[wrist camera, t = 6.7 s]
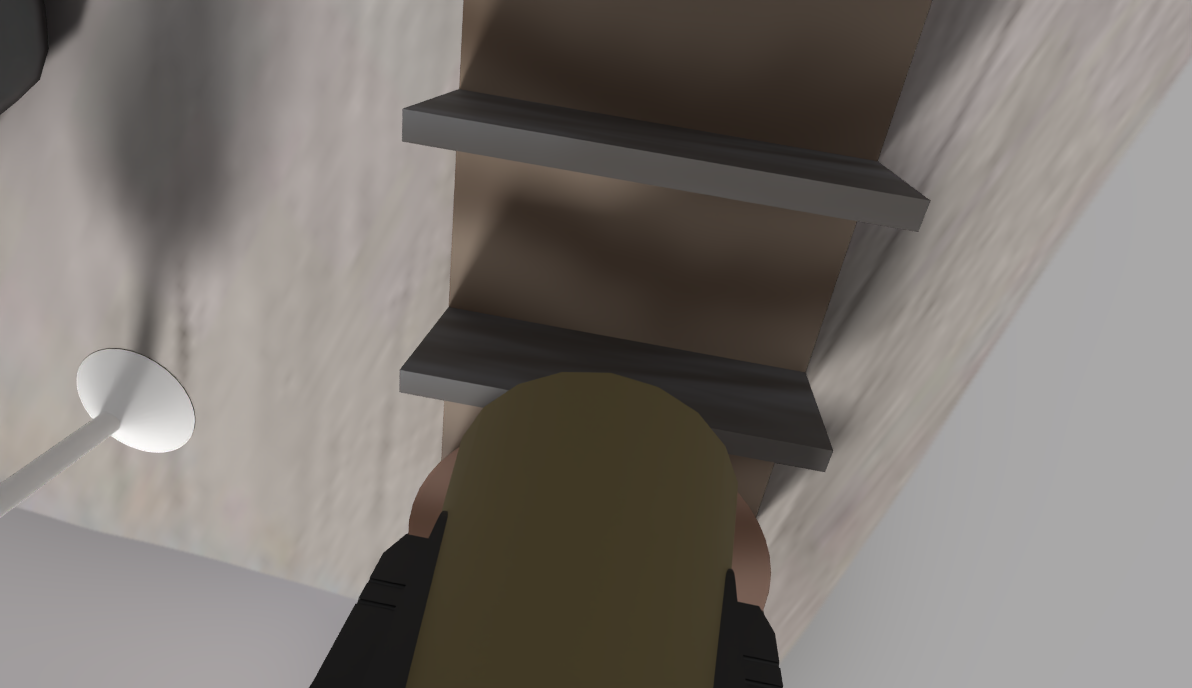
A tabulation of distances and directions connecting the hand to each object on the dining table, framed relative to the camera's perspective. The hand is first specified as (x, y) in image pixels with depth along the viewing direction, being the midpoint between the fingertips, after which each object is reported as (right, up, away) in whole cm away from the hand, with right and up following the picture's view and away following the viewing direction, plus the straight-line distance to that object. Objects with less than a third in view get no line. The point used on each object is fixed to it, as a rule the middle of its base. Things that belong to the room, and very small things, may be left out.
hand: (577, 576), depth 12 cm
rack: (+2, +9, +17) cm, 19 cm away
